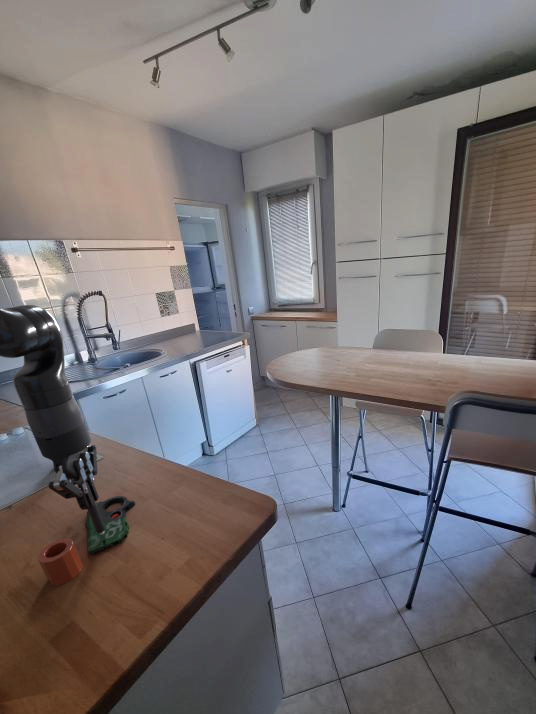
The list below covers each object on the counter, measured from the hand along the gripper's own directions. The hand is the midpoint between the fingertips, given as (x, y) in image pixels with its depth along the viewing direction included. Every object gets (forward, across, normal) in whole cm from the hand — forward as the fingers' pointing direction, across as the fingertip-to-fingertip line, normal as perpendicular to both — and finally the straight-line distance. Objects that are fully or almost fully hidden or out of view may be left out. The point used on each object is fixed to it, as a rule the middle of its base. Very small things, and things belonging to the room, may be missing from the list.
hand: (90, 504), depth 65 cm
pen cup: (+9, +7, -4) cm, 12 cm away
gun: (+10, -5, 0) cm, 11 cm away
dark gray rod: (+8, 0, 0) cm, 8 cm away
